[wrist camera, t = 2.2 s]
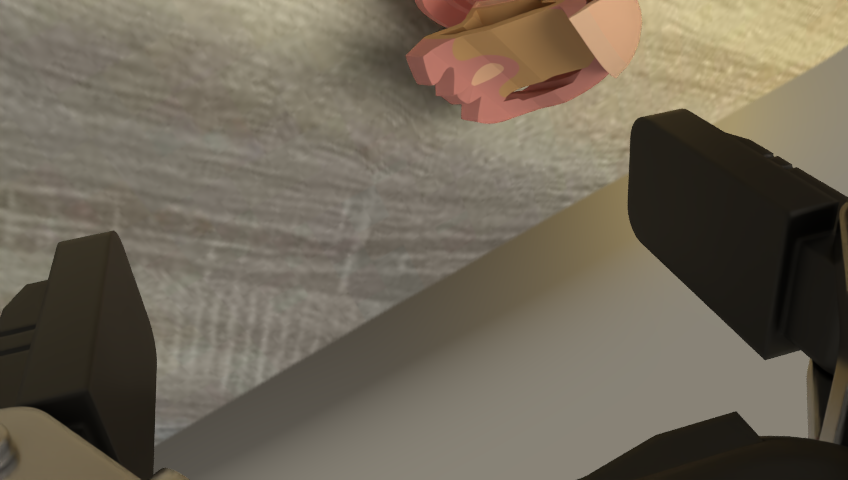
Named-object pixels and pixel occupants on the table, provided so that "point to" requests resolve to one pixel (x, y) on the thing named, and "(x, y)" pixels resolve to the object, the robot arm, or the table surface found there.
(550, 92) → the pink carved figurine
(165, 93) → the table surface
